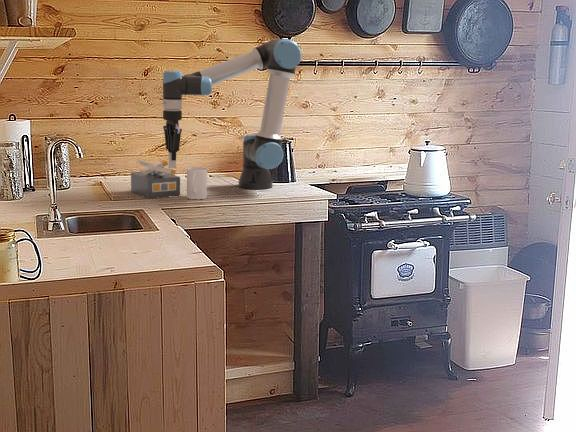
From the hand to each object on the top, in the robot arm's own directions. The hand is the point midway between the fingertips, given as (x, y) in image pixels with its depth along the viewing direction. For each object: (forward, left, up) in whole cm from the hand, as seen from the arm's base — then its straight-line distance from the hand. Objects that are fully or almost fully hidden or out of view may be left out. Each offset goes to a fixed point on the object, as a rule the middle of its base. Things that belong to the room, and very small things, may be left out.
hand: (172, 167), depth 311 cm
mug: (-6, +10, -12) cm, 16 cm away
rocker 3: (+5, 0, -1) cm, 5 cm away
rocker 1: (+5, -12, -1) cm, 13 cm away
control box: (+5, -6, -11) cm, 14 cm away
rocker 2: (+5, -6, -1) cm, 8 cm away
